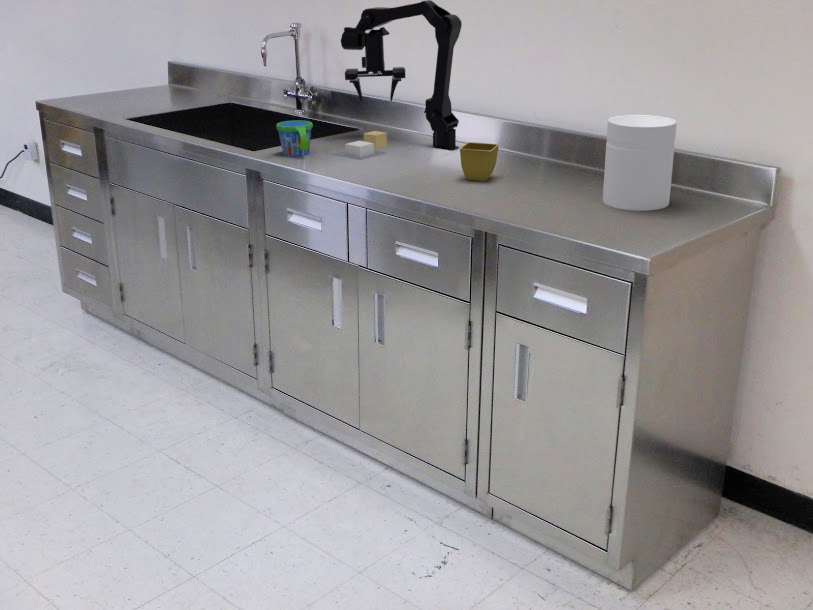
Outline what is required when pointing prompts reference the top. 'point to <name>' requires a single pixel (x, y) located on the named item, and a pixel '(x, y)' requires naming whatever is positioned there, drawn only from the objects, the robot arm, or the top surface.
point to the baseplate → (343, 154)
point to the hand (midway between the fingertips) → (376, 101)
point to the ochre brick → (376, 138)
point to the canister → (639, 162)
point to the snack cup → (295, 137)
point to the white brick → (359, 148)
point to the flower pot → (478, 160)
